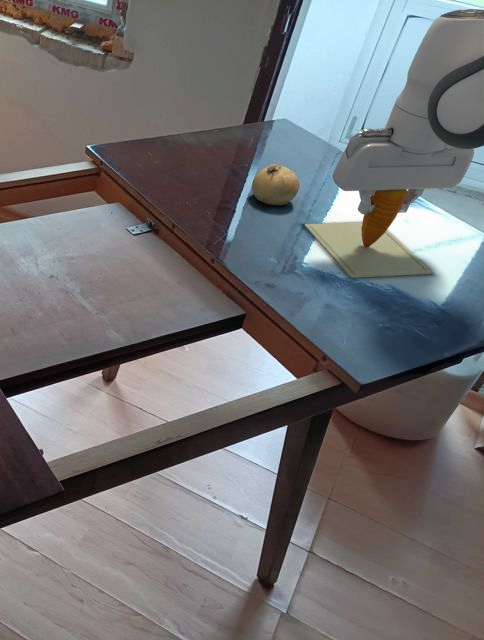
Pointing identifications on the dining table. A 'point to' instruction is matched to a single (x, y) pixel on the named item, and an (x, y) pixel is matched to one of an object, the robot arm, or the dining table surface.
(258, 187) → the onion
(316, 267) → the dining table surface
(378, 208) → the carrot
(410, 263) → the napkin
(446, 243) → the dining table surface
